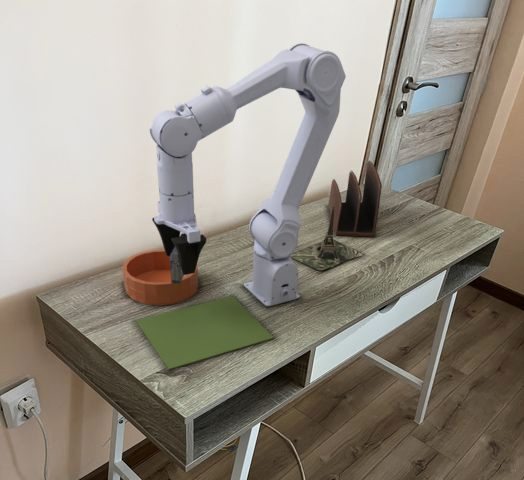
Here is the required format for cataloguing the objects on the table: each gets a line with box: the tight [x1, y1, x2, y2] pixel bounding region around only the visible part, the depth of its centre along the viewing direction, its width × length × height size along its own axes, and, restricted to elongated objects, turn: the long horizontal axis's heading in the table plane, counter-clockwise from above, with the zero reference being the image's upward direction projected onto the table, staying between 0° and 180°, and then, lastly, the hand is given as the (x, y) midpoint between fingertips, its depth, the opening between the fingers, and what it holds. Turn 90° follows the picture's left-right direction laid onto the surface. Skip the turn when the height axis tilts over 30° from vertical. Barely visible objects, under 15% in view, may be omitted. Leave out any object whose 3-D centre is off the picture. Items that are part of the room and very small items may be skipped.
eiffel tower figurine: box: [291, 205, 364, 271], centre depth 118 cm, size 15×10×13 cm
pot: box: [122, 249, 199, 306], centre depth 106 cm, size 15×15×5 cm
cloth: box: [135, 295, 275, 371], centre depth 96 cm, size 16×20×1 cm
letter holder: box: [327, 160, 383, 238], centre depth 135 cm, size 10×20×14 cm, turn 179°
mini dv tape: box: [170, 233, 184, 284], centre depth 96 cm, size 8×2×6 cm, turn 174°
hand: (180, 263), depth 96 cm, fingers closed on mini dv tape, 7 cm apart
